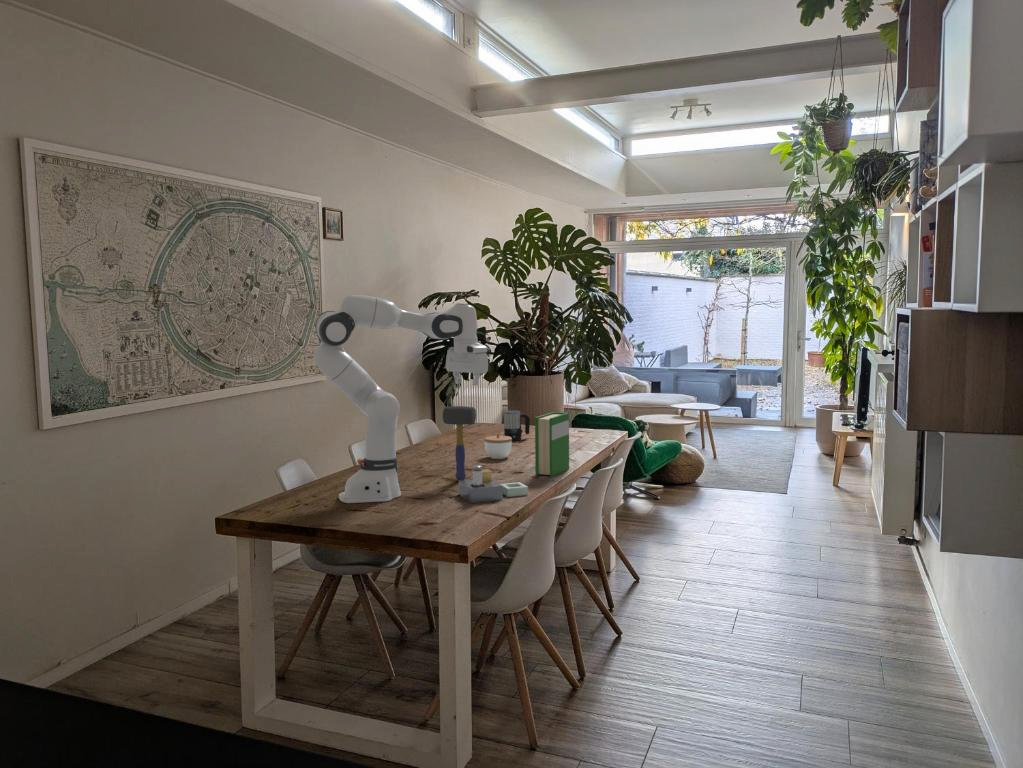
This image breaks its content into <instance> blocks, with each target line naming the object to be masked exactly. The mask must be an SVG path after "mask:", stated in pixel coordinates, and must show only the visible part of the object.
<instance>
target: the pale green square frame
mask: <svg viewBox="0 0 1023 768" xmlns="http://www.w3.org/2000/svg"><path fill="white" fill-rule="evenodd" d="M499 484H500V485H502V486H503V496H506V497H507V498H509V497H517V496H518V497H519V496H528V495H529V486H528V485H525V484H524V483H522V482H521V481H520V482H519V481H518V482H508V483H507V482H506V483H499Z"/></svg>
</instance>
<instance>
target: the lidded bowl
mask: <svg viewBox="0 0 1023 768" xmlns="http://www.w3.org/2000/svg"><path fill="white" fill-rule="evenodd" d="M483 440H484V448H485V452H486V454H487V455H488V457H490V459H492V460H493V459H495V460H503V459H506V458H507V457H508V455H509V454H510V453H511V449H512V445H513V444H512V443H513V441H512V438H511V437H509V436H504V435H500V433H496V435H490V436H486V437H484V439H483Z"/></svg>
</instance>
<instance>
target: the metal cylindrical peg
mask: <svg viewBox="0 0 1023 768" xmlns="http://www.w3.org/2000/svg"><path fill="white" fill-rule="evenodd" d="M482 470H483V466H482V465H478V464H477V465H473V466H472V480H473V487H483V486H482Z"/></svg>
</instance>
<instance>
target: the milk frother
mask: <svg viewBox="0 0 1023 768" xmlns="http://www.w3.org/2000/svg"><path fill="white" fill-rule="evenodd" d="M502 414H503V429H504V430H503V431H504V433H503V434H504V435H503V436H509V437H511V438H512V442H513V441H514V442H516V441H520V440H522V433H523V430H522V418H523V419H525V422H524V423H525V427H524V433H525V435H529V434H530V427H531V426H530V423H531V420H530V417H529V415H528V414H526V413H524V412H523V413H522V411H521V410H504V411H502ZM515 440H516V441H515Z"/></svg>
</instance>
